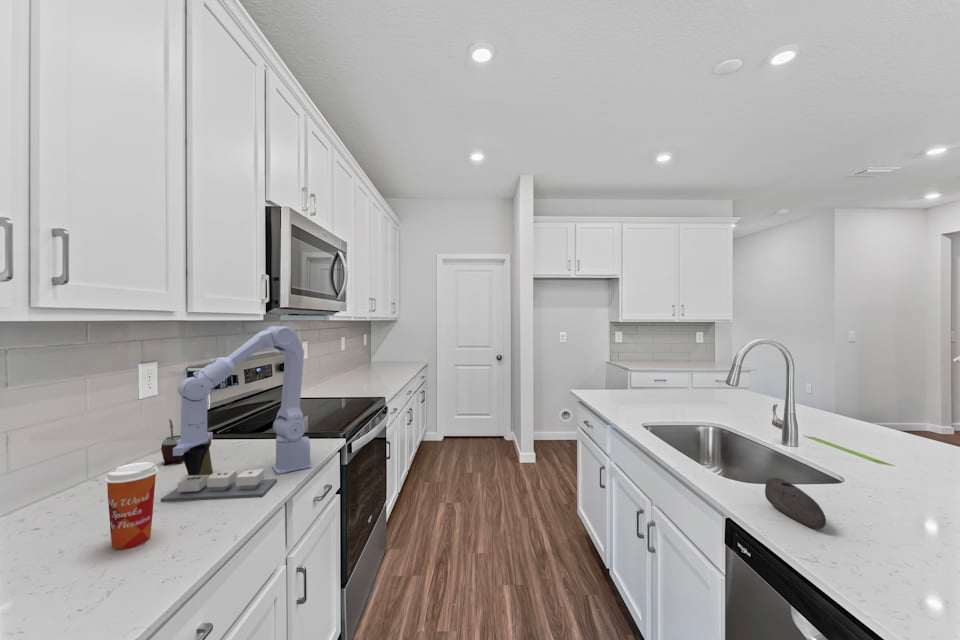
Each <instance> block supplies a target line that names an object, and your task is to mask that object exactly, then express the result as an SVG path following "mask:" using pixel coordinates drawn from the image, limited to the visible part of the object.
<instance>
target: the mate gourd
mask: <svg viewBox="0 0 960 640" xmlns="http://www.w3.org/2000/svg"><path fill="white" fill-rule="evenodd" d="M168 421H169V429H170V436H168V437H166V438H164V440H163V441H162V442H161V445H160V446H161V448H160V450H161V455H162V459H163V461H164V463H163V466H164V467H165V466H169V465H172V464H176V463H177V465H181V464H183V462H184V461H183V459H182V458H181V457H180V456H173V448H174V447H176V446H177V445H178V444H176V441H177V440H179V439H181V434H179V435H174V424H173V422H172V419H168Z"/></svg>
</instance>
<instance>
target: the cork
mask: <svg viewBox="0 0 960 640" xmlns="http://www.w3.org/2000/svg"><path fill="white" fill-rule="evenodd" d="M203 444H209V449H208V451H207V452H206V454H205V457H204V460H203V463H202V467H201V470H200V473H199V474H198V475H209V476H211V475H213V474H214V473H213V472H214V471H213V465H212V458H211V452H210V447H211V445H212V439H211V440H208V441H207V442H206V443H203ZM188 476H189V475H188V474H187V477H188ZM191 476H192V475H191Z"/></svg>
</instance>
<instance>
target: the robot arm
mask: <svg viewBox="0 0 960 640" xmlns="http://www.w3.org/2000/svg"><path fill="white" fill-rule="evenodd" d="M270 348H273V349H276V350H277V351H278V352H279V353H281V355H283V356H284V366H283V367H284V368H283V378H282V390H281V401H280V402H281V403H280V408H279V410H278V411H277V412H276V417H275V419H274V421H273V424H272V430H273V433H275V434H276V438H275V464H273V465H272V466H271V467H272V469H273V470H274V471H275V473H276V474H277V475H279V474H285V473H289V472H293V471H300V470H303V469H309V468H311V467H312V466H311V443H310V442H311V441H310V438H309V436H303V435H305V432H306V424H305V422H304V414H303V412H302V410H301V407H300V406H301V395H302V394H301V393H302V382H303V370H304V369H303V368H304V359H305V357H304V356H305V351H304V350H305V349H304V348H303V346H302V344H301V341H300V339H299V333H298V332H296V331H295V330H294V329H292V327H290V326H287V325H282V326H277V325H269V326H267V327H266V328H265V329H264V330H261V331H259V332H258V333H256V334H255V335H253V336H252V337H251V338H250V339H249V340H247V341H246V342H245V343H243V345H241V346H239V347H238V348H237V349H236V350H234V351H233V352H232V353H230V354H229V355H228V356H227V357H224V356H223V357H221V356H220V357H217V358H211V359H210V360H209V363H208V364H207V365H206V366H205V367H203V368H202V369H200V370H199V371H194V372H193V373H192V375H193V376H191V377H187V378H185V379H183V380H182V381H181V382H180V385H178V386H179V387H178V388H177V392H178V394H179V396H181V400H180V403H181V406H180V435H181V439H179V440H177V441H176V444H178V445H177V446H176V447H174V448H173V456H180V457H181V458H182V459H183V461H182V462H183V463H184V465H185V469H186V471H187V476H188V475H189V476H191V475H198V474H199V473H200V470H201V467H202V463H203V460H204V457H205V454H206V452H207V451H208V449H209V450H210V447H209V444H203V443H206V442H207V441H208V440H211V441H212V440H213V439H214V437H213V436H214V434H213V431H209V432H208V399H207V398H208V396H209V395H210V394H211V389H214V388H216V387H217V386H219V384H221V383H222V382H224V381H225V380H227V378H229V377H230V376H232V375H233V374H234V373H235V369H236V366H238V365H239V364H240V363H242V362H244V361H245V360H247V359H248V358H250V357H251V356H253V355H254V354H256V353H257V352H258V351H260V350H262V349H270Z"/></svg>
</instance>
